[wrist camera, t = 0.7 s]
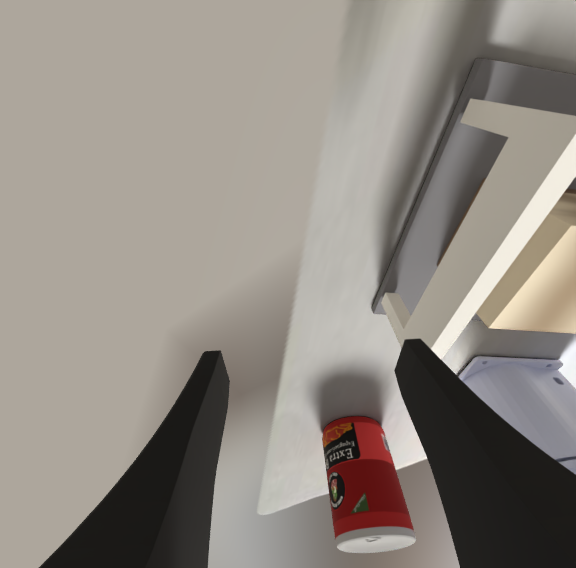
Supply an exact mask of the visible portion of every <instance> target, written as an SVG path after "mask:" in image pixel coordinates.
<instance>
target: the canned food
mask: <svg viewBox="0 0 576 568" xmlns="http://www.w3.org/2000/svg"><path fill="white" fill-rule="evenodd" d="M322 440H323V448H324V456H325V464H326V471H327V479H328V487H329V495H330V502H331V511H332V518H333V526H334V532H335V539H336V542H337V548H338V549H340V550H341V551H345V552H351V553H374V552H383V551H390V550H396V549H401V548H404V547H407V546H410V545H412V544H413V543H414V542H415V541H416V538H415V533H414V529H413V526H412V523H411V519H410V515H409V512H408V509H407V506H406V502H405V499H404V496H403V492H402V489H401V486H400V483H399V479H398V477H397V473H396V470H395V466H394V463H393V460H392V457H391V453H390V450H389V447H388V444H387V440H386V437H385V434H384V431H383V429H382V427H381V426H380V424H379V423H378V422H377V421H375V420H374V419H371V418H368V417H362V416H351V417H344V418H340V419H337V420H335V421H333V422H331V423H330V424H328V425H327V426H326V427H325V429H324V432H323V438H322Z"/></svg>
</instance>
